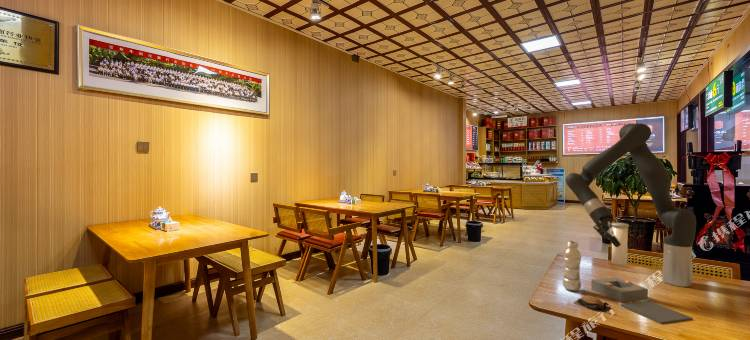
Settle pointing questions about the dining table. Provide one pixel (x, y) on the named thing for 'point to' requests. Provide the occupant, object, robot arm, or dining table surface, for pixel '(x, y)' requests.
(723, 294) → the dining table surface
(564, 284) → the plastic bottle
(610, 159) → the robot arm
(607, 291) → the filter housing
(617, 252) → the cylinder
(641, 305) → the rubber mat
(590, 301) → the dark brown curved piece
